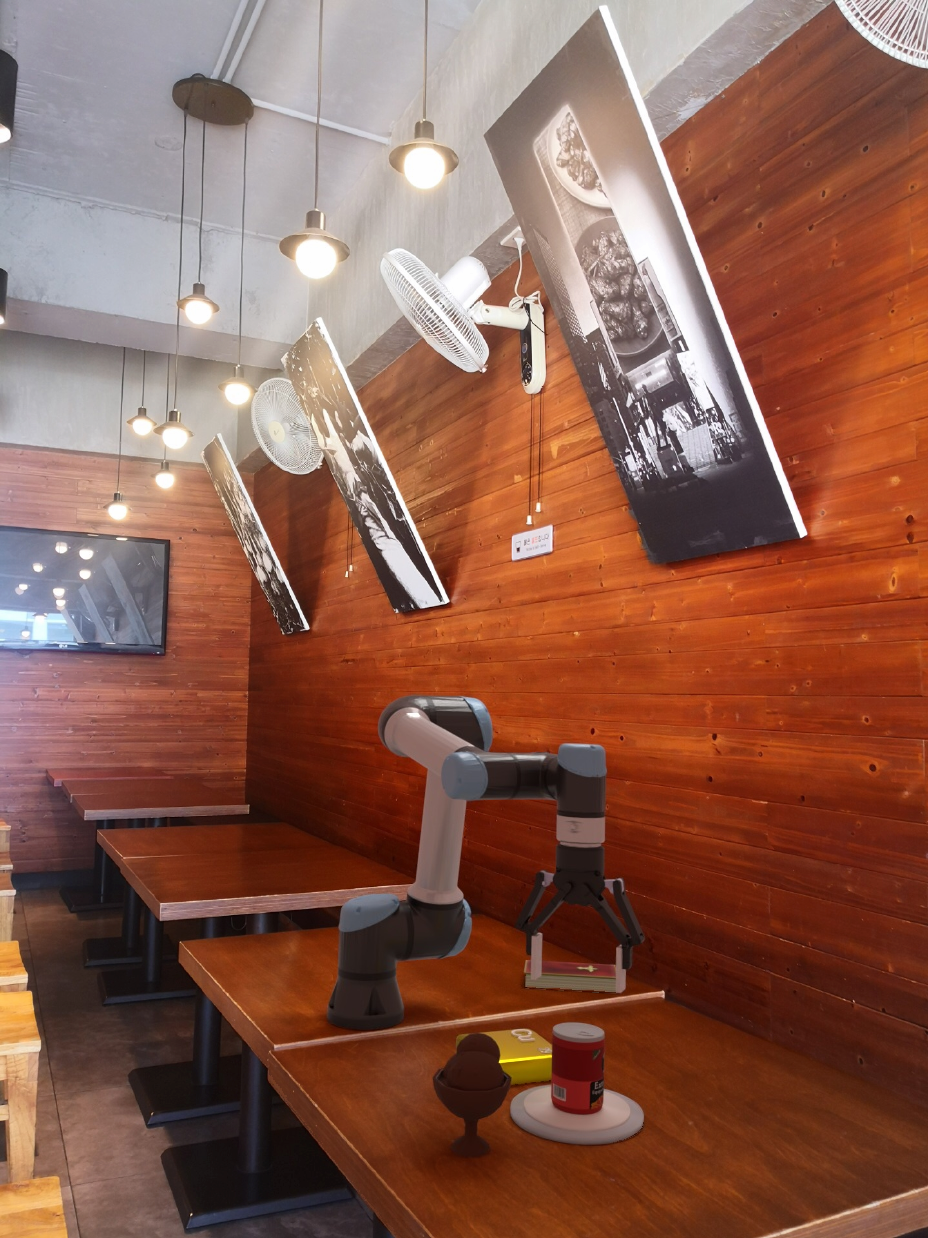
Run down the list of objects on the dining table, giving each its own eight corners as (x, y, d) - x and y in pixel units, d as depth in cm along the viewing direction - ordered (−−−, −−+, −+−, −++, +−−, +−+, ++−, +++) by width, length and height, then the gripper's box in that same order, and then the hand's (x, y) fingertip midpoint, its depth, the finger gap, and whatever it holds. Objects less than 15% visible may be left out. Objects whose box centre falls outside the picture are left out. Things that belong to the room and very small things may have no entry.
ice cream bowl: (428, 1132, 138) (431, 1024, 139) (505, 1132, 139) (507, 1024, 140) (432, 1166, 127) (435, 1049, 129) (515, 1166, 128) (517, 1049, 130)
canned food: (601, 1118, 140) (603, 1040, 142) (547, 1112, 142) (549, 1035, 143) (605, 1099, 148) (606, 1025, 149) (553, 1093, 150) (555, 1020, 151)
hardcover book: (525, 977, 226) (525, 958, 227) (615, 982, 224) (615, 963, 224) (523, 990, 214) (523, 971, 215) (618, 996, 212) (618, 976, 212)
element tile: (452, 1060, 169) (452, 1031, 169) (529, 1052, 174) (530, 1024, 175) (483, 1091, 155) (484, 1060, 155) (566, 1082, 160) (567, 1052, 161)
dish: (489, 1126, 140) (489, 1116, 140) (537, 1082, 158) (538, 1072, 158) (622, 1156, 132) (623, 1144, 132) (657, 1105, 150) (657, 1095, 150)
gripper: (497, 839, 151) (493, 977, 149) (653, 853, 141) (651, 1003, 139) (515, 834, 158) (511, 967, 156) (665, 848, 148) (663, 990, 145)
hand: (577, 984), depth 147 cm, fingers open, 13 cm apart
